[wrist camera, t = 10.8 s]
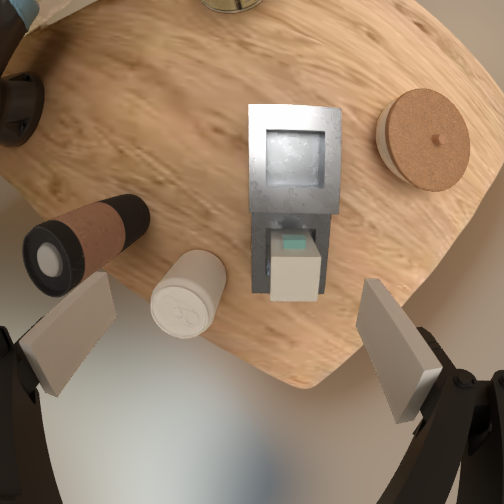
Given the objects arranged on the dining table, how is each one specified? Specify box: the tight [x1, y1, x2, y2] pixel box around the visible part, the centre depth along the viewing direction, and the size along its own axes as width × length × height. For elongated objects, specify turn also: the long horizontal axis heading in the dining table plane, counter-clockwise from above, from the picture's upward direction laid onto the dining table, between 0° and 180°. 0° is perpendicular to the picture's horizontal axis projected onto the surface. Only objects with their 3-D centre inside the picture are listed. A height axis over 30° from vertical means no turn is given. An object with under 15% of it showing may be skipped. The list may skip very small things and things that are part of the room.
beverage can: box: [150, 250, 226, 339], centre depth 37 cm, size 8×8×12 cm
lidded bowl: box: [376, 89, 470, 192], centre depth 29 cm, size 13×13×11 cm
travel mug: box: [22, 194, 150, 297], centre depth 31 cm, size 8×8×20 cm
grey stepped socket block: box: [249, 104, 341, 294], centre depth 35 cm, size 10×24×8 cm, turn 0°
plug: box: [270, 229, 321, 301], centre depth 34 cm, size 5×6×11 cm
